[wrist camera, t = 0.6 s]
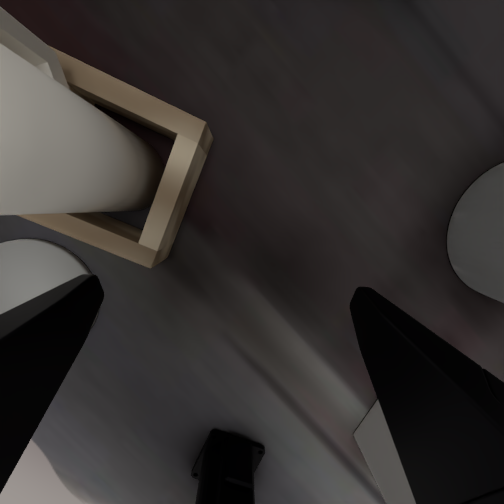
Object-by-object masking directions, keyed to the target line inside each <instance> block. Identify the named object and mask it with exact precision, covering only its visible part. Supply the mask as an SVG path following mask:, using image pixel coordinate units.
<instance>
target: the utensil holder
mask: <svg viewBox="0 0 504 504" xmlns="http://www.w3.org/2000/svg"><path fill="white" fill-rule="evenodd" d="M447 251H448V256H449V259H450V262H451V265H452V267H453V269H454V271H455V272H456V274H457V275H458V277H459V278H460V279H461V280H462V281H463V282H464V283H465V284H466V285H467V286H469V287H470V288H472V289H473V290H475V291H477V292H479V293H481V294H484V295H486V296H488V297H490V298H493V299H495V300H497V301H500V302H502V303H504V162H503V163H501V164H499V165H497V166H495V167H493V168H492V169H490V170H488V171H487V172H485V173H484V174H483V175H482V176H480V177H479V178H478V179H477V180H476V181H475V182H474V183H473V184H472V185H471V186H470V187H469V188H468V189H467V190H466V192H465V193H464V194H463V196H462V197H461V198H460V200H459V202H458V203H457V205H456V207H455V209H454V212H453V214H452V216H451V220H450V223H449V228H448V233H447Z"/></svg>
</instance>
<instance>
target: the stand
mask: <svg viewBox="0 0 504 504" xmlns="http://www.w3.org/2000/svg"><path fill="white" fill-rule="evenodd" d="M47 46H48V45H47ZM49 47H50V46H49ZM50 48H51V49H52V50H54V51H55V52H56V54H57V57H58V60H59V62H60V65H61V68H62V70H63V73H64V76H65V78H66V81H67V84H68V86H69V89H70V91H72V92H73V93H75V94H76V95H78V96H79V97H81V98H82V99H84V100H85V101H87V102H88V103H90V104H91V105H93V106H94V105H95V104H98V105H100V106H102V107H104V108H106V109H108V110H110V111H112V112H115V113H117V114H119V115H121V116H123V117H125V118H127V119H130V120H132V121H134V122H136V123H138V124H140V125H142V126H144V127H147V128H149V129H151V130H153V131H155V132H157V133H159V134H162V135H164V136H166V137H168V138H170V139H172V140H174V141H175V143H174V146H173V148H172V151H171V154H170V157H169V159H168V162H167V165H166V168H165V171H164V173H163V176H162V179H161V182H160V184H159V187H158V190H157V193H156V195H155V198H154V201H153V204H152V207H151V209H150V212H149V215H148V218H147V220H146V223H145V226H144V229H143V230H141V229H138V228H136V227H133V226H131V225H129V224H126V223H124V222H121V221H119V220H117V219H114V218H112V217H109V216H107V215H105V214H102V213H100V212H83V213H53V214H23V215H18V216H20V217H23V218H25V219H28V220H30V221H33V222H35V223H38V224H40V225H43V226H45V227H48V228H50V229H53V230H55V231H58V232H60V233H63V234H65V235H68V236H70V237H73V238H75V239H78V240H80V241H83V242H85V243H88V244H90V245H93V246H95V247H98V248H100V249H103V250H105V251H108V252H110V253H113V254H115V255H118V256H120V257H123V258H125V259H128V260H130V261H133V262H135V263H138V264H140V265H143V266H145V267H148V268H150V269H151V268H153V267H154V266H156V265H157V264H159V263H160V262H162V261H163V260H165V259H166V258H168V255H169V253H170V250H171V248H172V245H173V242H174V240H175V237H176V235H177V232H178V229H179V227H180V224H181V222H182V219H183V217H184V214H185V211H186V209H187V206H188V204H189V201H190V199H191V196H192V193H193V191H194V188H195V186H196V183H197V180H198V178H199V175H200V173H201V170H202V168H203V165H204V162H205V160H206V157H207V155H208V152H209V149H210V147H211V144H212V142H213V137H212V134H211V132H210V130H209V128H208V125H207V123H206V122H205V121H203V120H201V119H198V118H196V117H194V116H192V115H190V114H188V113H186V112H184V111H182V110H180V109H178V108H176V107H174V106H172V105H170V104H168V103H166V102H163V101H161V100H159V99H157V98H155V97H153V96H151V95H149V94H147V93H145V92H143V91H141V90H139V89H137V88H135V87H133V86H131V85H128V84H126V83H124V82H122V81H120V80H118V79H116V78H114V77H112V76H110V75H108V74H106V73H104V72H102V71H100V70H98V69H95V68H93V67H91V66H89V65H87V64H85V63H83V62H81V61H79V60H77V59H75V58H73V57H71V56H69V55H67V54H65V53H63V52H60V51H58V50H56V49H54V48H52V47H50Z"/></svg>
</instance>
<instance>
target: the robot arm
mask: <svg viewBox="0 0 504 504" xmlns="http://www.w3.org/2000/svg"><path fill="white" fill-rule="evenodd" d="M103 299H104V291H103V289H102V286H101V284H100V281H99V279H98V277H97V276H96V275H93V274H82V275H79V276H77V277H75V278H73V279H71V280H69V281H67V282H65V283H63V284H61V285H59V286H57V287H55V288H53V289H51V290H49V291H47V292H45V293H43V294H41V295H39V296H37V297H35V298H33V299H31V300H29V301H27V302H25V303H23V304H21V305H19V306H16V307H14V308H12V309H10V310H8V311H6V312H4V313H2V314H0V493H1V492H2V490H3V488H4V486H5V484H6V483H7V481H8V479H9V477H10V475H11V474H12V472H13V470H14V468H15V466H16V465H17V463H18V461H19V459H20V457H21V456H22V454H23V452H24V450H25V448H26V447H27V445H28V443H29V441H30V439H31V438H32V436H33V434H34V432H35V430H36V429H37V427H38V425H39V423H40V422H41V420H42V418H43V416H44V414H45V413H46V411H47V409H48V407H49V405H50V404H51V402H52V400H53V398H54V396H55V395H56V393H57V391H58V389H59V387H60V386H61V384H62V382H63V380H64V378H65V377H66V375H67V373H68V371H69V369H70V368H71V366H72V364H73V362H74V361H75V359H76V357H77V355H78V353H79V352H80V350H81V348H82V346H83V344H84V342H85V340H86V338H87V336H88V334H89V332H90V329H91V327H92V325H93V322H94V320H95V318H96V315H97V313H98V311H99V308H100V306H101V304H102V301H103ZM350 312H351V316H352V320H353V324H354V328H355V332H356V336H357V340H358V344H359V348H360V351H361V354H362V357H363V359H364V362H365V365H366V368H367V370H368V373H369V376H370V379H371V381H372V384H373V387H374V390H375V392H376V395H377V398H378V401H379V403H380V406H381V409H382V412H383V414H384V417H385V420H386V423H387V425H388V428H389V431H390V434H391V436H392V439H393V442H394V445H395V447H396V450H397V453H398V456H399V458H400V461H401V464H402V467H403V469H404V472H405V475H406V478H407V480H408V483H409V486H410V489H411V491H412V494H413V497H414V500H415V502H416V504H504V382H502V381H501V380H499V379H498V378H497V377H495V376H494V375H493V374H491V373H490V372H488V371H487V370H486V369H482V367H481V366H480V365H478V364H477V363H476V362H474V361H473V360H471V359H470V358H469V357H467V356H466V355H464V354H463V353H462V352H460V351H459V350H457V349H456V348H455V347H453V346H452V345H450V344H449V343H448V342H446V341H445V340H443V339H442V338H440V337H439V336H438V335H436V334H435V333H433V332H432V331H431V330H429V329H428V328H426V327H425V326H424V325H422V324H421V323H419V322H418V321H417V320H415V319H414V318H412V317H411V316H410V315H408V314H407V313H405V312H404V311H403V310H401V309H400V308H398V307H397V306H396V305H394V304H393V303H391V302H390V301H389V300H387V299H386V298H384V297H383V296H382V295H380V294H379V293H377V292H376V291H375V290H373V289H372V288H370V287H358V288H357V289H356V291H355V293H354V295H353V297H352V300H351V302H350ZM264 454H265V448H264V446H263V445H260V444H257V443H254V442H251V441H248V440H245V439H242V438H239V437H236V436H233V435H230V434H227V433H224V432H221V431H218V430H212V431H211V432H210V434H209V436H208V438H207V440H206V442H205V444H204V446H203V449H202V451H201V453H200V455H199V457H198V459H197V461H196V463H195V465H194V467H193V469H192V473H191V476H192V477H193V478H195V479H199V485H198V491H197V497H196V503H195V504H255V497H254V472H255V470H256V468H257V466H258V465H259V463H260V461H261V459H262V457H263V455H264Z"/></svg>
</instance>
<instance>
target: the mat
mask: <svg viewBox="0 0 504 504" xmlns="http://www.w3.org/2000/svg"><path fill="white" fill-rule="evenodd" d="M82 274H92V273H91V272H90V270H89V269H88V267H87V266H86V265H85V264H84V263H83V262H82V261H81V260H80V259H79V258H78V257H77V256H76V255H75V254H73V253H72V252H71V251H69V250H68V249H66V248H64V247H62V246H60V245H58V244H56V243H53V242H50V241H46V240H41V239H19V240H13V241H7V242H4V243H1V244H0V314H2V313H4V312H6V311H8V310H10V309H12V308H14V307H16V306H19V305H21V304H23V303H25V302H27V301H29V300H31V299H33V298H35V297H37V296H39V295H41V294H43V293H45V292H47V291H49V290H51V289H53V288H55V287H57V286H59V285H61V284H63V283H65V282H67V281H69V280H71V279H73V278H75V277H77V276H79V275H82ZM98 312H99V311H98ZM97 316H98V313H97V315H96V318H95V320H94V322H93V325H94V323H95V321H96V319H97ZM93 325H92V326H93ZM91 328H92V327H91Z"/></svg>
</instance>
